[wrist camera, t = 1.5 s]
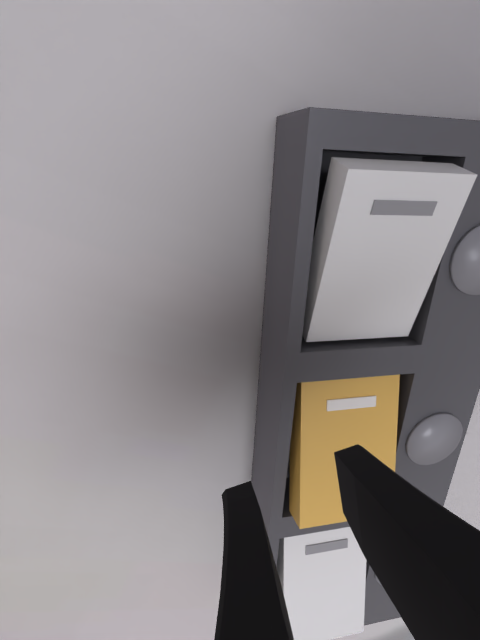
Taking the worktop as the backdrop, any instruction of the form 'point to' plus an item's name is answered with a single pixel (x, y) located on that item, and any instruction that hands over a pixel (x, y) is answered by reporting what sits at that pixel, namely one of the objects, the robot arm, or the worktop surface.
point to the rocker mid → (337, 439)
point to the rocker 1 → (323, 584)
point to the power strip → (374, 353)
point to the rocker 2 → (379, 245)
